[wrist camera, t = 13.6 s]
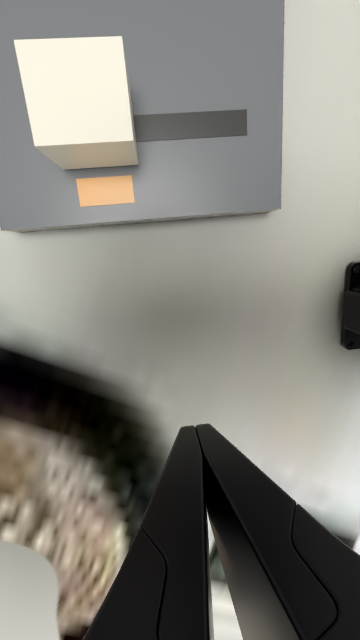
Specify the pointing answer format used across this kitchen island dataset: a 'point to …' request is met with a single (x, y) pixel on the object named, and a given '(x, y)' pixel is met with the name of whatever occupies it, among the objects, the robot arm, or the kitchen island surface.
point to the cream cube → (79, 100)
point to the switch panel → (155, 113)
